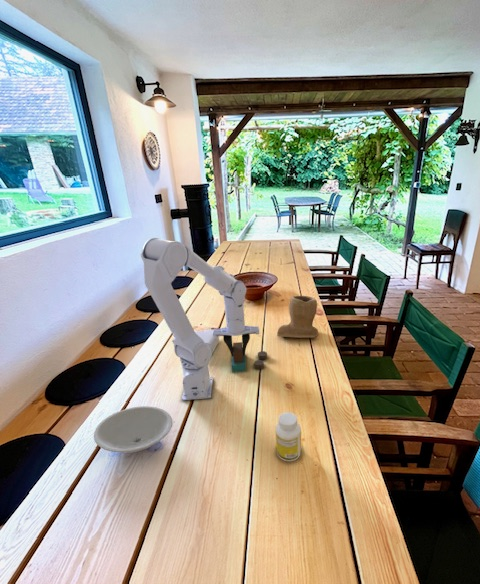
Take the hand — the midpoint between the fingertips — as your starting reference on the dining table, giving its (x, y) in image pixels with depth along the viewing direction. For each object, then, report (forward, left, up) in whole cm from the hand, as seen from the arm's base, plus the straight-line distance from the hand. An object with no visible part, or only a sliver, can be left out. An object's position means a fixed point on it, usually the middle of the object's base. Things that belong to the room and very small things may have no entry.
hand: (238, 354), depth 105 cm
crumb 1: (+2, -8, -3) cm, 9 cm away
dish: (-32, +24, -4) cm, 40 cm away
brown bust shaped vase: (+18, -23, -4) cm, 29 cm away
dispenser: (+15, +12, -1) cm, 19 cm away
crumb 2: (-3, -6, -3) cm, 8 cm away
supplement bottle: (-39, -11, -4) cm, 41 cm away
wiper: (0, 0, -3) cm, 3 cm away
